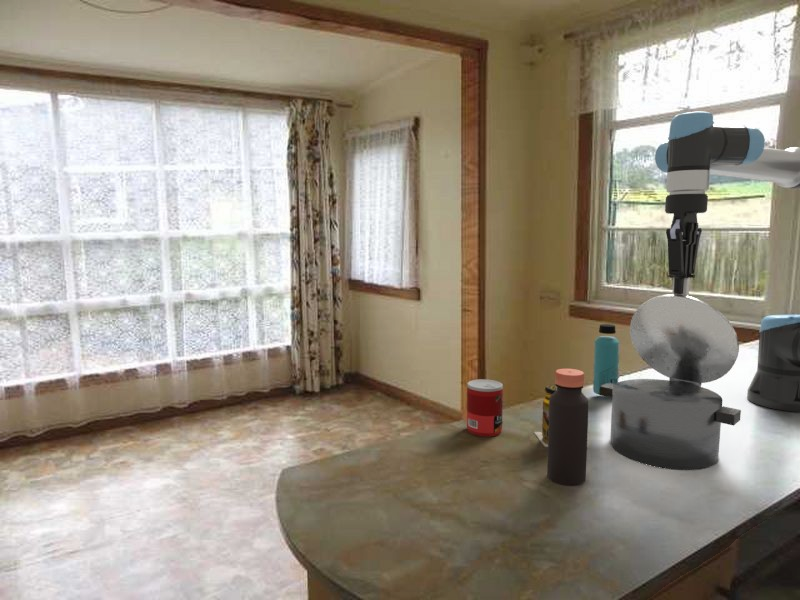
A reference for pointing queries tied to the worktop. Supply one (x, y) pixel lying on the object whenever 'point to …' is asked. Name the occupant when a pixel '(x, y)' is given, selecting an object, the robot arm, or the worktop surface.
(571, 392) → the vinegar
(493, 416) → the canned food
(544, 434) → the condiment
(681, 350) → the lid
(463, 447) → the worktop surface
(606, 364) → the beverage bottle
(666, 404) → the pot
